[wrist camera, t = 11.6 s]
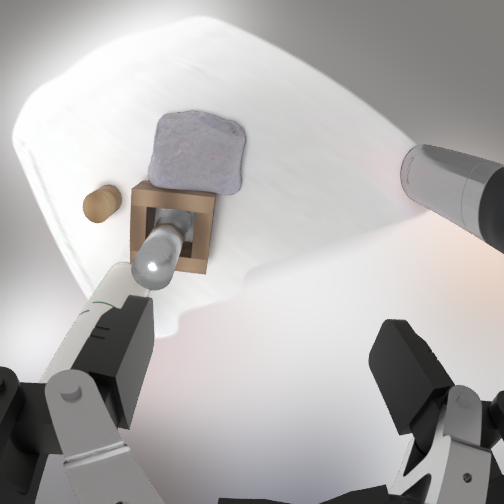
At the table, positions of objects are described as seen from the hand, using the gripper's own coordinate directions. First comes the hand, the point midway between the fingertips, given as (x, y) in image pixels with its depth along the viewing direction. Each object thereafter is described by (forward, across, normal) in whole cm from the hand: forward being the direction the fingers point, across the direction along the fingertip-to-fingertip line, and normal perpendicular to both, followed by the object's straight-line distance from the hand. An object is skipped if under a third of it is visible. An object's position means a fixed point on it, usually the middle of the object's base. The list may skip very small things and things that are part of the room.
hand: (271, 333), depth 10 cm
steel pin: (+31, +9, +7) cm, 33 cm away
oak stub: (+31, +19, +5) cm, 37 cm away
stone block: (+32, +7, -3) cm, 33 cm away
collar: (+31, +9, +7) cm, 33 cm away
